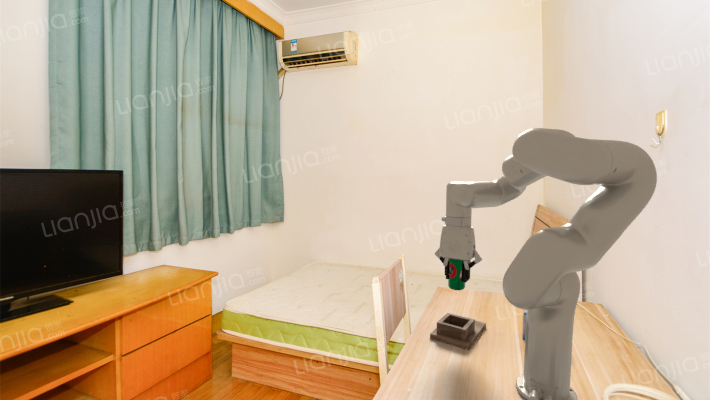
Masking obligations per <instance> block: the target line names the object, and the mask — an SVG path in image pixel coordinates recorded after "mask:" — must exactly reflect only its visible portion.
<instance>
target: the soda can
mask: <svg viewBox="0 0 710 400" xmlns="http://www.w3.org/2000/svg"><path fill="white" fill-rule="evenodd" d="M464 269H465V266H464V262H463V260H456V259H449V273H448V279H447V282H448V284H447V286H448V288H449V289H450V290H452V291H462V290H464V289H465V288H466V283H465V282H463V270H464Z"/></svg>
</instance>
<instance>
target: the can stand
mask: <svg viewBox="0 0 710 400" xmlns="http://www.w3.org/2000/svg"><path fill="white" fill-rule="evenodd" d="M486 328H487V323H486V322H484V321H479V320H476V319H474V318H471V317H466V316H463V315H458V314H454V313H450V312H447V313H446V314H445V315H443V317H441V318H439V320H438V321H436V328H435V329H434V330H432V332H430V333H429V339H431V340H435V341H438V342H441V343H444V344H447V345H450V346H455V347H458V348H461V349H464V350H467V351H470V349H471V347H473V345H474V344H475V342H477V339H478V338H479V337H480V336H481V334H482V333H483V332H484V330H486Z"/></svg>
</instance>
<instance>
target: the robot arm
mask: <svg viewBox="0 0 710 400" xmlns="http://www.w3.org/2000/svg"><path fill="white" fill-rule="evenodd" d="M511 150H512V151H511V153H512V154H511V155H509V156H508V157H507V158H505V159H504V160H503V161H502V164H501V171H502V175H503V176H501V177H499V178H498V179H494V180H493V181H492V180H491V181H449V182H448V183H447V185H446V189H445V191H446V195H445V197H446V198H445V203H446V204H445V216H442V217H441V222H444V224H445V225H442V228H441V229H442V230H441V234H440V241H439V247H438V249H437V250H436V251H435V253H434V255H435V256H436V258H437V259H439V260H440V262H441V263H442V266H444V276H445V279H446V280H448V273H449V259H456V260H463V262H464V266H465V269H464V270H463V282H465V284H466V283H467V282H468V281H469V280H470V279H471V269H472V268H473V267H474V266H476V265H477V264H479V263H480V262H482V261H483V258H482V257H481V255H480V254H479V252H478V251H477V250H476V248H477V247H476V235H475V230H474V227H473V226H472V211H473V210H472V209H482V208H483V209H484V208H495V207H496V208H497V207H499V206H503V205H505V204H506V203H509V202H511V201H513V200H515V199H517V198H519V197H520V196H521V195H522V194H523V193H524V192H525V191H526V188H527V187H528V186H531V185H532V184H535V183H536V182H538V181H540V180H542V179H544V178H545V177H551V178H552V179H553V178H554V179H556V180H559V181H563V182H566V183H569V184H572V185H579V186H599V188H598V189H597V190H596V191H595V192H593V194H591V195H590V196H589V197H588V198H586V200H585V201H584V202H583V203H581V205H580V206H579V208H578V210H577V211H576V212H575V214H574V215H573V216H572V217H571V218H570V220H569V221H567V223H565V224H562V225H560V226H553V227H545V228H543V229H540V230H538V231H536V232H534V233H533V234H532V235H531V236H529V238H528V239H527V240H525V243H524V244H523V246H521V248H520V250H519V252H518V253H517V254H516V256H515V257H514V259H513V260H512V261H511V263H510V264H509V266H508V267H507V269H506V271H505V272H504V276H503V279H502V292H503V295H504V297H505V298H506V300H507V302H508V303H510V304H511V305H512V306H514V307H516V308H518V309H521V310H524V309H525V310H527V315H526V329H525V340H524V354H523V355H524V358H523V361H524V362H523V373H522V374H521V375H519V376H518V377H516V380H515V381H516V382H515V386H516V390H517V392H518V393H519V395H521V396H522V398H524V399H525V400H578V395H577V392H576V391H575V389H573V388H572V387H571V376H572V375H571V373H572V359H573V358H572V356H573V354H572V352H573V339H574V338H573V335H574V323H575V322H574V321H575V314H576V308H577V305H578V301H579V298H580V293H581V280H580V276H579V275H578V273H577V272H583V271H587V270H590V269H591V268H594V267H595V266H596V265H597V264H598V263H599V262H600V261H601V260H602V258H604V256H605V255H606V253H607V252H608V251H609V250H610V249H611V248H612V247H613V245H614V244H615V243H616V242H617V241H618V240H619V239H620V237H621V236H622V235H623V234H624V232H625V231H626V230H627V229H628V228H629V226H631V224H632V223H633V222H634V220H636V218H638V217H639V216H640V214H641V213H642V212H643V211H644V209H645V208H646V207H647V206H648V204H649V202H650V201H651V199H652V197H653V196H654V193H655V191H656V187H657V182H658V174H657V168H656V165H655V163H654V160H653V159H652V158H651V155H649V153H648V152H647V151H646V150H645V149H644V148H642V147H640V146H638V145H637V144H635V143H631V142H628V141H623V140H617V139H616V140H613V139H596V138H595V139H591V138H583V137H576V136H575V134H573V133H571V132H569V131H567V130H564V129H556V128H545V127H544V128H542V127H534V128H529V129H527V130H525V131H523V132H522V133H520V134H519V135H518V136H517V138H516V139H515V140H514V143H513V146H512V149H511ZM472 259H474V260H472ZM471 260H472V261H471Z"/></svg>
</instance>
